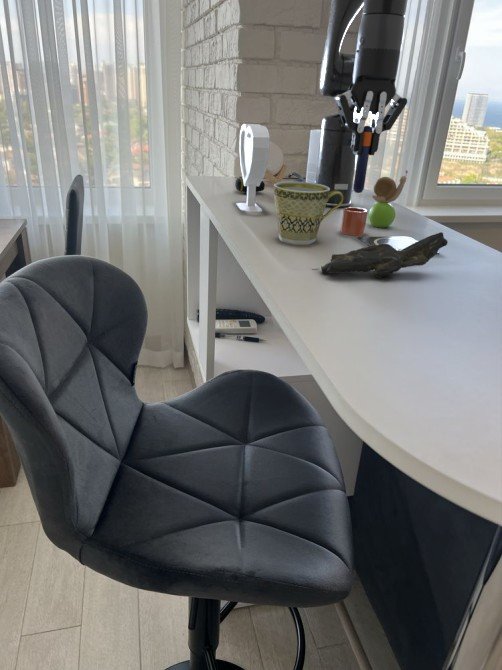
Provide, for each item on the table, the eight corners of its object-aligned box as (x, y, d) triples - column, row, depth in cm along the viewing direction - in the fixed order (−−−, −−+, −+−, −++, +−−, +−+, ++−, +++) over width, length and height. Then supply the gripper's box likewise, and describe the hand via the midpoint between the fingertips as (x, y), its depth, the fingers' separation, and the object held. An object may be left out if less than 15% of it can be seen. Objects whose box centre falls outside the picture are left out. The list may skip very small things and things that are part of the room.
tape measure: (265, 194, 134) (266, 179, 132) (242, 195, 130) (243, 180, 129) (252, 189, 139) (253, 175, 137) (230, 190, 136) (231, 176, 134)
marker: (350, 191, 98) (359, 124, 92) (360, 191, 98) (370, 125, 93) (355, 194, 96) (364, 126, 90) (365, 194, 96) (375, 126, 91)
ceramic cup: (275, 248, 89) (280, 191, 85) (265, 233, 98) (269, 180, 93) (346, 249, 91) (354, 192, 87) (329, 234, 100) (336, 182, 95)
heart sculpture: (234, 201, 123) (237, 121, 115) (254, 201, 124) (258, 122, 116) (246, 216, 110) (250, 127, 102) (268, 216, 111) (274, 128, 103)
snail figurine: (398, 232, 104) (409, 172, 99) (366, 229, 105) (375, 169, 100) (396, 226, 109) (407, 168, 103) (366, 223, 110) (375, 166, 104)
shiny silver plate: (356, 239, 97) (357, 236, 97) (408, 239, 100) (409, 235, 99) (382, 257, 88) (383, 253, 87) (439, 256, 90) (439, 252, 90)
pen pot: (337, 232, 102) (340, 207, 100) (358, 231, 103) (361, 207, 101) (345, 238, 98) (349, 212, 96) (367, 237, 99) (371, 212, 97)
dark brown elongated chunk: (329, 297, 76) (453, 271, 78) (329, 266, 73) (458, 239, 75) (317, 277, 81) (433, 253, 83) (316, 247, 78) (437, 222, 80)
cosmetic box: (323, 183, 153) (329, 128, 146) (340, 187, 149) (347, 130, 142) (304, 185, 148) (309, 128, 141) (320, 189, 144) (326, 131, 137)
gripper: (404, 51, 91) (387, 152, 99) (332, 45, 88) (321, 151, 95) (426, 49, 84) (406, 158, 92) (349, 43, 81) (336, 156, 89)
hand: (363, 154), depth 94 cm, fingers closed on marker, 2 cm apart
